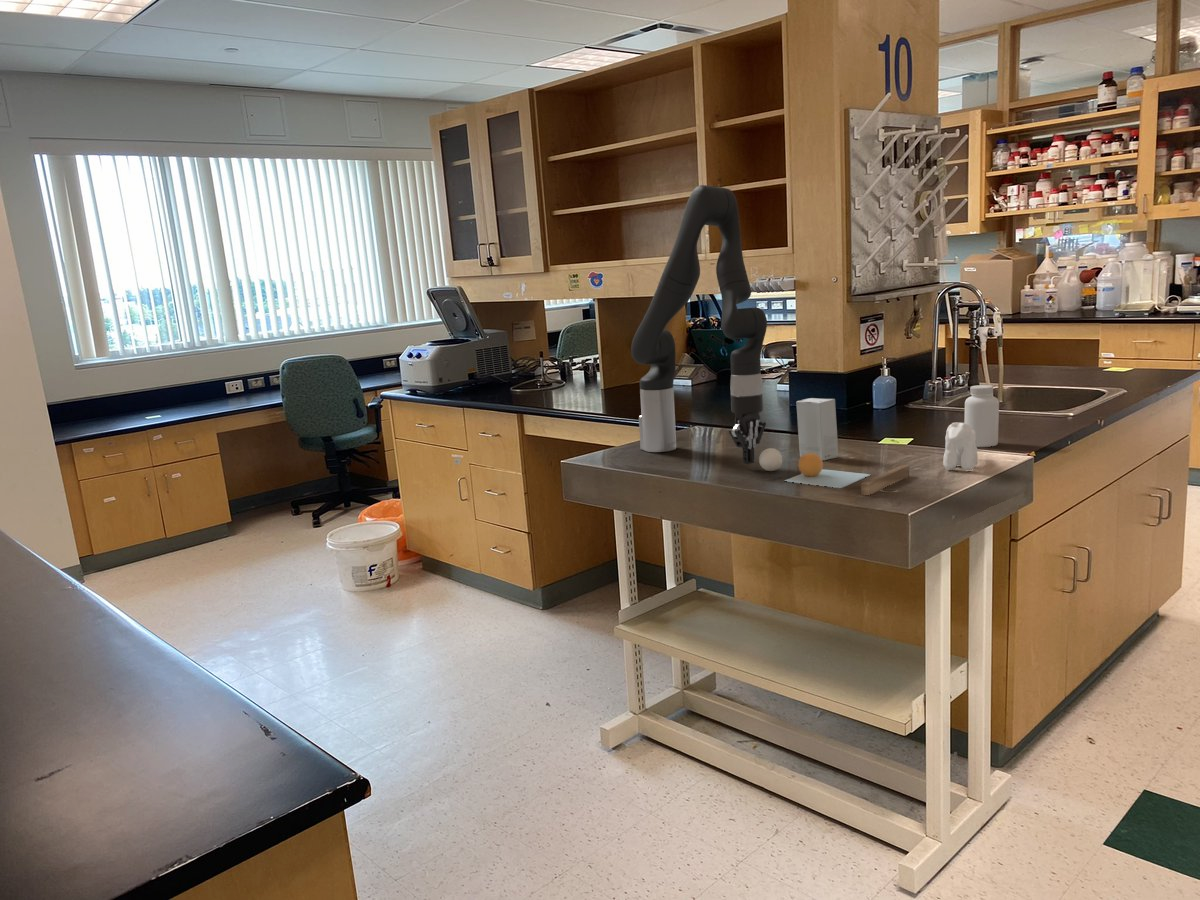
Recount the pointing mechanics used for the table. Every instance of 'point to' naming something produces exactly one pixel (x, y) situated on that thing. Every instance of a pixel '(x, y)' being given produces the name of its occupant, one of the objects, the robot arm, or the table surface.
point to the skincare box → (817, 427)
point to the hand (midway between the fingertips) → (748, 463)
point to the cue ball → (770, 459)
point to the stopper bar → (884, 480)
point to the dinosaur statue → (960, 447)
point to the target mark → (829, 478)
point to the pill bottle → (983, 415)
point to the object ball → (810, 464)
